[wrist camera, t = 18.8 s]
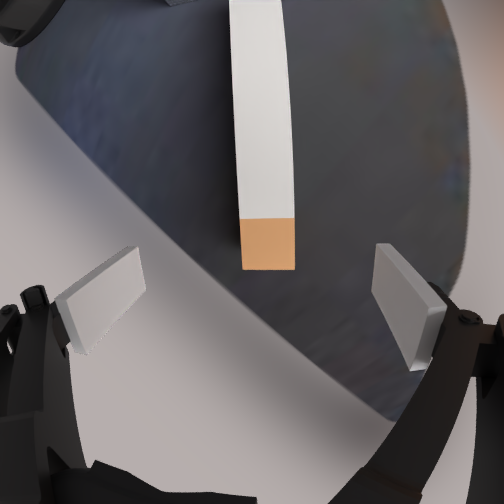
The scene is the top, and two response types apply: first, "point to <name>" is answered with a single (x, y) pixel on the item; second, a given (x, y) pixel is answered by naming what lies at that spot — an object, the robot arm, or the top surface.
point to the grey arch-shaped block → (177, 2)
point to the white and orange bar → (262, 134)
